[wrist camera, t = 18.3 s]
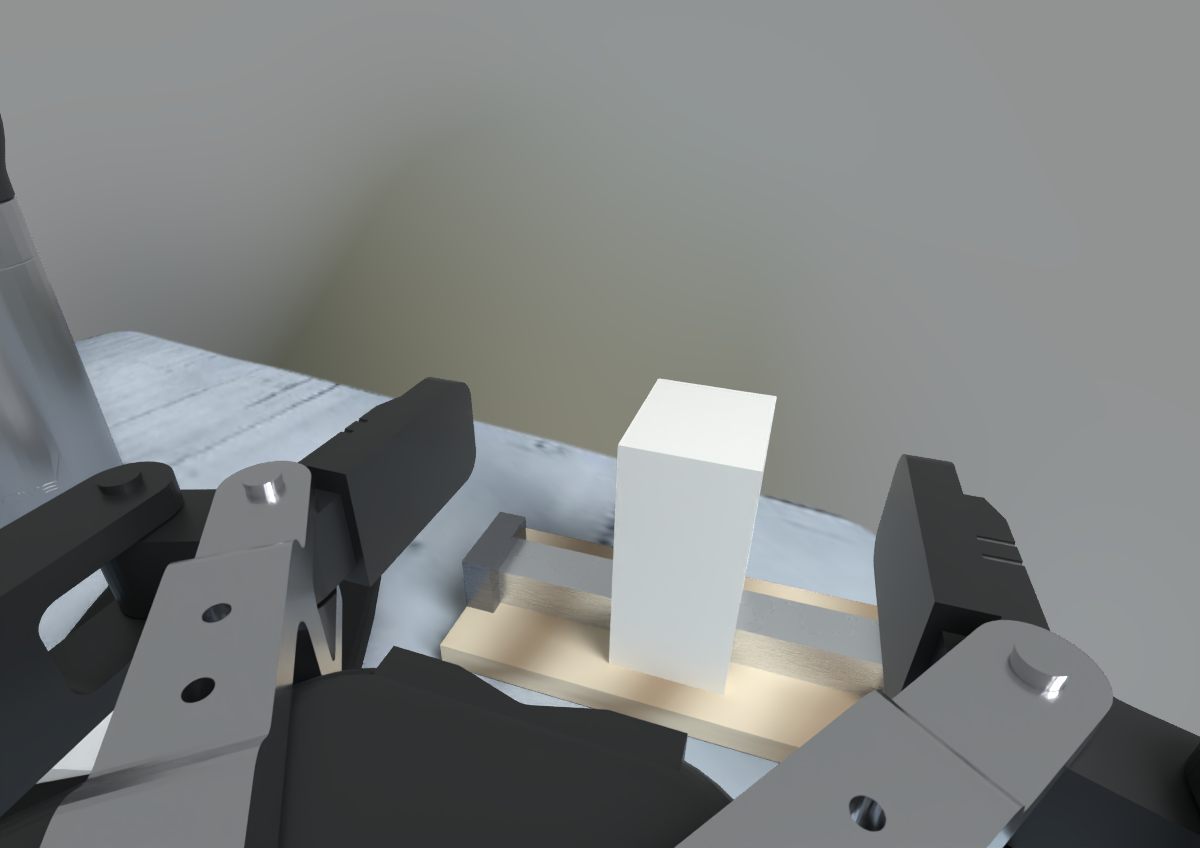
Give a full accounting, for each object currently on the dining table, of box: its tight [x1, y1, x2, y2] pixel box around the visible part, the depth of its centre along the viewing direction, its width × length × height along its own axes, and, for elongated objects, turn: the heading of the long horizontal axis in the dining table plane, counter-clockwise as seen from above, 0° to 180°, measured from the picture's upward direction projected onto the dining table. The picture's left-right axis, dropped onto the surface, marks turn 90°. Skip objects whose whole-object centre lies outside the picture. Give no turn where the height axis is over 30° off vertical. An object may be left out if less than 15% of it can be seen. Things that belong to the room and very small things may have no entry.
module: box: [609, 379, 776, 696], centre depth 27 cm, size 5×7×11 cm
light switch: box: [0, 576, 381, 821], centre depth 29 cm, size 20×3×14 cm
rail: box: [462, 512, 885, 696], centre depth 28 cm, size 20×4×3 cm, turn 72°
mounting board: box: [440, 528, 878, 763], centre depth 29 cm, size 20×9×1 cm, turn 72°
